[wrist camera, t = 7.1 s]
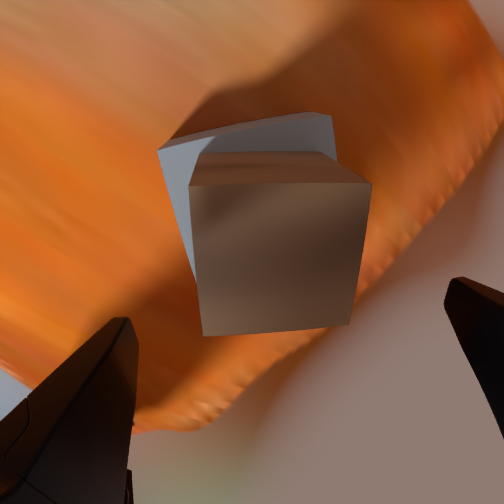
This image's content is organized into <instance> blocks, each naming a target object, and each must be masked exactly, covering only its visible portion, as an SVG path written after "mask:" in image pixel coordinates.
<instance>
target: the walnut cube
mask: <svg viewBox="0 0 504 504" xmlns="http://www.w3.org/2000/svg"><path fill="white" fill-rule="evenodd" d="M371 189H372V183H370V182H369V181H367V180H366V179H364V178H363V177H361V176H359V175H358V174H356V173H355V172H353V171H352V170H350V169H348V168H347V167H345V166H343V165H342V164H340V163H339V162H337V161H335V160H334V159H332V158H330V157H329V156H327V155H325V154H324V153H322V152H310V151H248V152H217V153H199V156H198V159H197V161H196V164H195V167H194V170H193V173H192V176H191V179H190V182H189V185H188V191H189V205H190V218H191V230H192V241H193V252H194V262H195V272H196V282H197V291H198V300H199V308H200V316H201V324H202V332H203V336H225V335H243V334H258V333H271V332H284V331H295V330H306V329H316V328H325V327H334V326H342V325H348V324H349V321H350V316H351V311H352V307H353V302H354V297H355V292H356V287H357V281H358V276H359V271H360V265H361V259H362V253H363V247H364V241H365V234H366V227H367V220H368V213H369V205H370V197H371Z"/></svg>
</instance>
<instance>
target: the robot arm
mask: <svg viewBox="0 0 504 504" xmlns="http://www.w3.org/2000/svg"><path fill="white" fill-rule="evenodd" d="M444 308H445V311H446V313H447V315H448V317H449V319H450V322H451V324H452V326H453V329H454V331H455V333H456V336H457V338H458V340H459V342H460V345H461V347H462V349H463V351H464V353H465V355H466V357H467V359H468V361H469V363H470V365H471V367H472V369H473V371H474V373H475V375H476V377H477V379H478V381H479V383H480V385H481V388H482V390H483V392H484V394H485V396H486V398H487V401H488V403H489V405H490V407H491V409H492V412H493V414H494V417H495V419H496V421H497V424H498V426H499V429H500V431H501V434H502V436H503V439H504V293H502V292H500V291H498V290H495V289H493V288H490V287H488V286H485V285H483V284H481V283H478V282H475V281H473V280H470V279H468V278H465V277H456V278H453V279H451V281H450V283H449V286H448V289H447V293H446V296H445V299H444ZM138 354H139V345H138V340H137V337H136V334H135V331H134V328H133V326H132V323H131V320H130V319H129V318H128V317H114V318H112V319H111V320H110V321H109V322H108V323H106V324H105V325H104V326H103V327H102V328H101V329H100V330H99V331H97V332H96V333H95V334H94V335H93V336H92V337H91V338H90V339H88V340H87V341H86V342H85V343H84V344H83V345H82V346H81V347H80V348H78V349H77V350H76V351H75V352H74V353H73V354H72V355H71V356H70V357H69V358H67V359H66V360H65V361H64V362H63V363H62V364H61V365H60V366H59V367H58V368H57V369H56V370H54V371H53V372H52V373H51V374H50V375H49V376H48V377H47V378H46V379H45V380H44V381H43V382H42V383H40V384H39V385H38V386H37V387H36V388H35V389H34V390H33V391H32V392H31V393H30V394H29V395H28V396H27V398H25V399H23V400H22V402H20V403H19V404H18V405H17V406H16V407H15V408H14V409H13V410H12V411H11V412H10V413H9V414H8V415H7V416H5V417H4V418H3V419H2V420H1V421H0V504H134V502H133V488H132V471H131V470H129V469H127V463H128V455H129V446H130V439H131V431H132V424H133V417H134V410H135V403H136V392H137V370H138Z"/></svg>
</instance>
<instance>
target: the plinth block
mask: <svg viewBox="0 0 504 504" xmlns="http://www.w3.org/2000/svg"><path fill="white" fill-rule="evenodd" d="M248 151H310V152H322V153H324V154H325V155H327V156H329V157H330V158H332V159H334V160H335V161H337V153H336V145H335V137H334V130H333V123H332V116H331V115H326V114H321V113H316V112H310V111H309V112H302V113H295V114H289V115H282V116H276V117H270V118H265V119H259V120H254V121H249V122H243V123H239V124H234V125H229V126H224V127H220V128H215V129H211V130H206V131H202V132H198V133H194V134H190V135H186V136H182V137H178V138H174V139H171V140H168V141H167V142H166V143H165V144H164V145H163V146H161V147H160V148H159V149H158V150H157V153H158V156H159V160H160V164H161V167H162V171H163V175H164V178H165V182H166V186H167V189H168V193H169V196H170V200H171V203H172V206H173V210H174V213H175V217H176V220H177V223H178V227H179V230H180V233H181V236H182V240H183V243H184V246H185V249H186V252H187V256H188V259H189V262H190V265H191V268H192V271H193V274H194V277H195V280H196V272H195V262H194V252H193V241H192V230H191V218H190V205H189V191H188V185H189V182H190V179H191V176H192V173H193V170H194V167H195V164H196V161H197V159H198V156H199V153H217V152H248ZM196 283H197V282H196Z"/></svg>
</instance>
